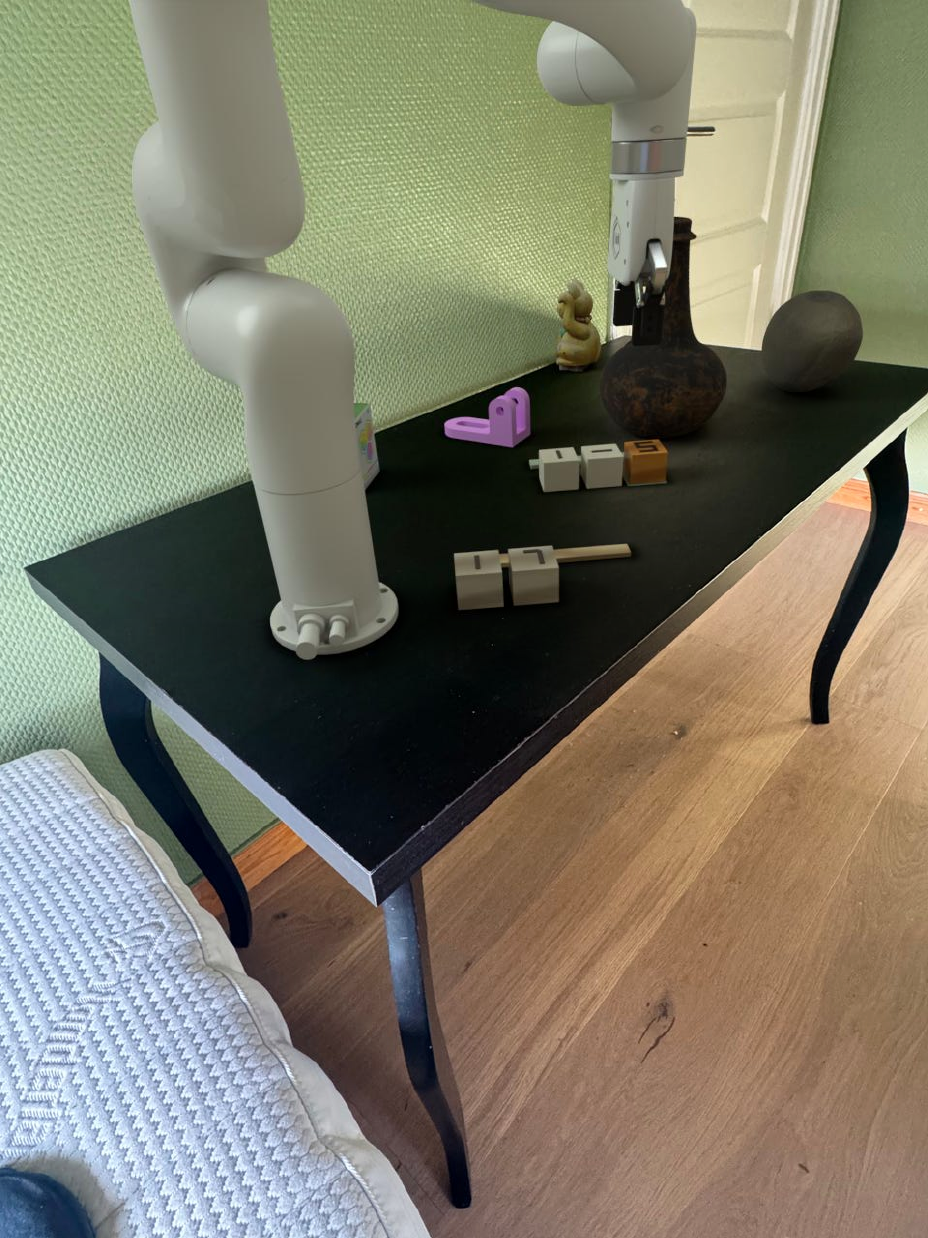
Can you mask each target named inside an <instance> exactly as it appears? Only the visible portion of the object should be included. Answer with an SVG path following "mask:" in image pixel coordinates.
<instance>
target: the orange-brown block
mask: <svg viewBox="0 0 928 1238" xmlns="http://www.w3.org/2000/svg"><path fill="white" fill-rule="evenodd" d="M623 446H624V447H623V449H624V450H623V452H624V462H623V472H624V473H625V475H626V477H627V479H628V480H629V482H630V484H643V483H655V482H665V481H666V482H667V470H668V458H669V452H668V450H667V448H666V447H665V446H664V445H663V443H662V442H661V441H660V439H647V440H636V441H635V440H634V441H625V442H624V444H623Z"/></svg>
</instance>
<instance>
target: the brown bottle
mask: <svg viewBox="0 0 928 1238" xmlns="http://www.w3.org/2000/svg"><path fill="white" fill-rule="evenodd" d="M692 225H693V220H692V219H691V217H687V216H686V217H685V216H674V227H673V243H672V255H671V264H670V271H669V276H668V278H667V279H666V281H665V285H666V287H665V289H666V291H665V305H664V318H663V329H662V341H661V343H660V344H659V345H646V346H634V345H633V344H632V343H631V339H630V340H629V341H628V342H626V343H625V344H624V346H621V347H620V348H619V349H618V350H617V351H615V352H614V353H613V354H612V355H611V356H610V357H609V358H608V360H607V361H606V363H605V364H604V366H603V368H602V371H601V373H600V378H599V394H600V399H601V401H602V404H603V406H604V409H605V411H606V412H607V414H608V415H609V417H610V418H611V419H612V420H613V422H615V424H617V426H619V427H620V428H621V429H622V430H624V431H626V432H627V433H629V434H632V435H634V436H637V437H643V438H650V439H667V438H673V437H679V436H683V435H687V434H689V433H691V432H693V431H695V430H697V429H699V428H700V427H702V426H703V425H705V424H706V423H707V422H708V421H709V420H710V419H711V418H712V417H713V416H714V415H715V413H716V412H717V410H718V409H719V407H720V406H721V404H722V402H723V400H724V397H725V394H726V391H727V382H728V381H727V380H728V379H727V371H726V369H725V366H724V363H723V361H722V360H721V358H720V356H718V354H717V353H716V352H715V351H714V350H713V349H712V348H710V347H709V346H707V345H705V344H704V343H702V342H700V341H699V340H698V338H697V336H696V333H695V330H694V327H693V320H692V312H691V292H690V291H691V288H690V267H691V266H690V264H691V263H690V262H691V261H690V260H691V259H690V258H691V241H693V240H696V239H697V237H698V236H697V234H695V233H694V232H693V231H692Z"/></svg>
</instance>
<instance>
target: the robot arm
mask: <svg viewBox="0 0 928 1238" xmlns="http://www.w3.org/2000/svg"><path fill="white" fill-rule="evenodd" d="M469 2H472V3H475V4H477V5H479V6H482V7H486V8H489V9H491V10H495V11H499V12H503V13H506V14H507V13H508V14H513V15H520V16H526V17H532V18H539V19H543V20H547V21H548V20H549V21H551V23H550V24H549V25H548V26H547V27H546V29H545V31H544V32H543V34H542V36H541V39H540V40H539V44H538V47H537V52H536V68H537V74H538V77H539V78H538V79H539V80H540V84H541V85H542V87H543V88H544V90H545V91H546V92H547V94H548V95H549V96H550V97H551V98H552V99H554V100H556V101H557V102H559V103H561V104H564V105H566V106H570V107H589V106H591V107H592V106H603V105H607V104H609V105H610V104H612V106H611V109H612V110H611V111H612V112H611V113H612V114H611V128H610V129H611V131H610V132H611V134H610V154H609V155H610V156H609V177H608V178H609V180H611V181H615V183H614V188H613V189H614V190H613V196H612V205H611V214H610V215H611V216H610V226H609V238H608V251H607V264H606V269H607V272H608V274H609V275H610V276H611V277H612V278H614V290H613V305H612V307H613V308H612V325H613V326H614V327H628V326H629V327H630V326H631V339H630V340H631V343H632V344H633V345H634V346H646V345H659V344H660V343H661V341H662V329H663V318H664V305H665V291H666V289H665V287H666V285H665V281H666V279H667V278H668V276H669V271H670V264H671V255H672V243H673V227H674V217H675V202H676V178H680V177H683V176H684V173H685V163H686V154H687V153H686V151H687V142H688V141H687V140H688V138H687V137H688V131H689V129H688V128H689V119H690V118H689V117H690V107H691V98H692V97H691V95H692V86H693V85H692V84H693V74H694V62H695V51H696V40H697V19H696V15H695V13H694V11H692V10H691V8H688V7H686V6H685V5H684V1H682V0H469ZM128 3H129V8H130V13H131V18H132V23H133V26H134V31H135V36H136V38H137V42H138V46H139V49H140V53H141V57H142V62H143V66H144V70H145V73H146V78H147V82H148V86H149V89H150V93H151V97H152V100H153V105H154V108H155V112H156V115H157V119H158V120H157V121H155V122H154V123H153V124H151V125H150V126H149V127H148V128H147V129H146V130H145V131H144V133H143V134H142V135H141V137H140V139H139V141H138V142H137V145H136V147H135V149H134V153H133V159H132V164H131V165H132V166H131V187H132V188H131V189H132V195H133V201H134V207H135V210H136V213H137V217H138V221H139V224H140V226H141V231H142V233H143V235H144V239H145V243H146V245H147V248H148V251H149V254H150V257H151V260H152V263H153V266H154V268H155V272H156V275H157V278H158V281H159V284H160V286H161V289H162V292H163V295H164V299H165V301H166V304H167V307H168V310H169V313H170V316H171V319H172V321H173V324H174V326H175V329H176V331H177V334H178V336H179V338H180V340H181V342H182V344H183V346H184V348H185V350H186V352H187V353H188V354H189V356H190V357H191V359H192V360H194V362H195V363H196V364H197V365H198V366H199V367H200V368H201V369H203V370H204V371H205V372H207V373H208V374H210V375H212V376H213V377H216V378H217V379H220V380H222V381H224V382H226V383H228V384H230V385H232V386H234V387H236V388H237V389H240V391H241V394H242V400H243V416H244V418H243V421H244V422H243V433H244V434H243V435H244V446H245V453H246V458H247V463H248V467H249V472H250V476H251V480H252V484H253V488H254V491H255V496H256V499H257V504H258V508H259V512H260V517H261V520H262V526H263V528H264V529H263V530H264V533H265V534H264V535H265V538H266V542H267V547H268V549H269V550H268V551H269V555H270V559H271V562H272V567H273V570H274V571H273V572H274V576H275V579H276V584H277V588H278V591H279V596H280V601H279V602H278V603H277V604H276V605H275V606H274V608H273V609H272V611H271V613H270V617H269V625H270V628H271V632H272V636H273V637H274V639H275V640H276V642H278V643H279V644H280V645H281V646H283V647H285V648H287V649H289V650H291V651H294V652H295V654H296V656H298V657H299V659H302V660H305V661H306V660H309V661H311V660H313V659H315V658H316V657H317V656H318V655H320V656H321V655H324V656H325V655H335V654H341V653H346V652H351V651H354V650H356V649H357V650H358V649H359V648H360V649H361V648H362V647H366V646H367V645H369V644H371V643H374V642H376V641H377V640H378V639H380V638H381V637H383V636H385V635H386V633H387V632H388V631H390V630H391V629H392V628H393V626H394V625H395V624H396V621H397V619H398V617H399V602H398V598H397V596H396V594H395V592H394V591H393V590H392V589H391V588H390V587H389V586H387V585H386V584H384V583H382V582H379V576H378V569H377V563H376V555H375V548H374V543H373V536H372V535H373V534H372V530H371V521H370V516H369V510H368V503H367V497H366V490H365V489H364V482H363V476H362V469H361V463H360V456H359V450H358V442H357V435H356V427H355V416H354V403H355V372H356V370H355V369H356V367H355V366H356V359H355V358H356V356H355V352H356V351H355V344H354V338H353V334H352V330H351V327H350V324H349V322H348V320H347V317H346V316H345V314H344V312H343V310H342V309H341V308H340V306H339V305H338V304H337V303H336V302H335V300H334V299H333V298H332V297H331V296H329V295H328V294H327V293H326V292H325V291H324V290H322V289H320V288H319V287H317V286H316V285H314V284H312V283H310V282H308V281H306V280H303V279H300V278H297V277H294V276H289V275H285V274H281V273H275V272H269V270H268V266H267V262H266V258H271V257H274V256H276V255H277V256H278V254H281V253H283V252H285V251H286V250H287V249H289V248H290V247H291V246H292V245H293V244H294V242H296V240H297V239H298V237H299V235H300V233H301V231H302V229H303V226H304V222H305V216H306V195H305V188H304V184H303V183H304V182H303V177H302V173H301V169H300V163H299V160H298V155H297V151H296V146H295V141H294V137H293V133H292V127H291V123H290V118H289V115H288V109H287V106H286V105H287V104H286V101H285V96H284V92H283V88H282V83H281V77H280V74H279V69H278V64H277V59H276V54H275V48H274V42H273V35H272V31H271V30H272V29H271V20H270V9H269V4H270V3H269V0H128ZM644 287H645V288H644Z"/></svg>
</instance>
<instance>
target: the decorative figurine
mask: <svg viewBox="0 0 928 1238" xmlns="http://www.w3.org/2000/svg"><path fill="white" fill-rule="evenodd" d="M566 286H567V289H568V290H565V291H564V292H562V293H561V294H559V295H558V297H557V304H556V312H557V314H558V316H559V317H560V319H562V327H561V328H560V329H559V334H558V336H557V342H556V350H555V353H556V354H555V355H556V362H555V363H556V365H557V366H558V368H559V371H570V372H581V373H582V372H584V370H585V369H586V368H588V367H589V366H590V364H593V363H597V362H598V360H599V359H600V356H601V352H602V342H601V336H600V333H599V330H598V328H597V327H596V326H595V324H594V323H593V322H592V320H593V316H592V315H591V313H592V312H593V309H594V299H593V297H592V295H591V294H590V293H589V292H588V291H586V290H585V286H584V285H583V283H582V282H580V281H579V280H578V279H577V278H572V279H571V281H567V282H566Z"/></svg>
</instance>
